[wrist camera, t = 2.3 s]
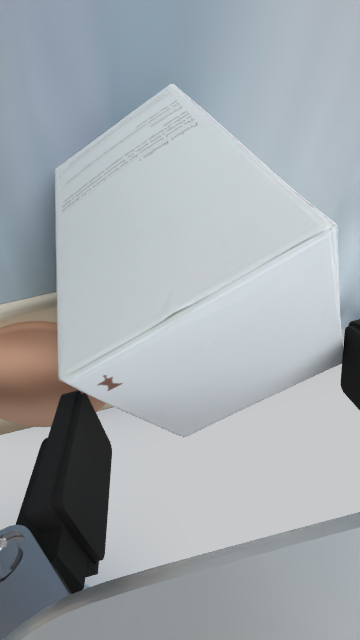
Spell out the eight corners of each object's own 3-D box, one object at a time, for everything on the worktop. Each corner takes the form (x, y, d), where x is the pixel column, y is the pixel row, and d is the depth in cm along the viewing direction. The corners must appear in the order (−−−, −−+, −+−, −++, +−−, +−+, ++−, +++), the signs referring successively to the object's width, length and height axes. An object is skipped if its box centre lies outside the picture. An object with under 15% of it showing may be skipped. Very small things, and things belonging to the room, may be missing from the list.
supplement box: (131, 261, 21) (179, 444, 13) (50, 166, 15) (44, 385, 7) (227, 203, 19) (348, 366, 11) (177, 75, 14) (346, 220, 6)
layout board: (-116, 330, 20) (-145, 361, 18) (254, 247, 22) (271, 266, 19) (-23, 422, 27) (-37, 453, 25) (254, 355, 28) (267, 379, 26)
